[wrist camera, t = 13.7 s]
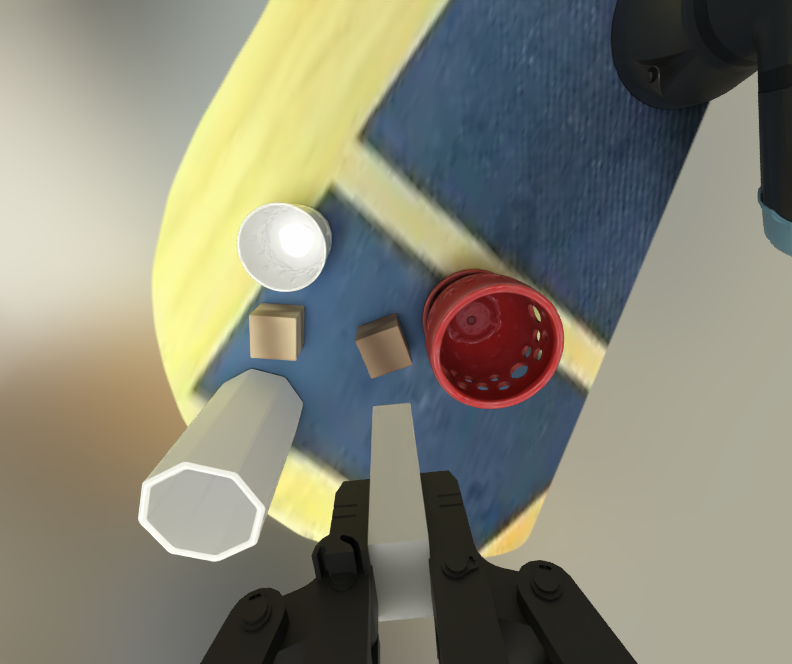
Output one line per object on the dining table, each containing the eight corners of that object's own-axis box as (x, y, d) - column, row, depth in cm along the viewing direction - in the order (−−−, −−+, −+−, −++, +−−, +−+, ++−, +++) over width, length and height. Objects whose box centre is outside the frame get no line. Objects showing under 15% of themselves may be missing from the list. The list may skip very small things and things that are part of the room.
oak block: (304, 305, 48) (296, 318, 43) (304, 344, 49) (296, 360, 45) (262, 302, 47) (249, 314, 43) (263, 341, 49) (250, 357, 44)
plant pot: (440, 377, 52) (456, 429, 40) (402, 285, 47) (409, 315, 36) (536, 340, 50) (581, 384, 39) (507, 243, 46) (548, 260, 35)
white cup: (347, 260, 46) (338, 278, 37) (282, 279, 46) (257, 301, 37) (324, 190, 43) (308, 191, 34) (256, 211, 44) (222, 217, 34)
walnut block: (396, 312, 48) (397, 326, 44) (409, 348, 50) (412, 364, 45) (357, 326, 49) (355, 340, 44) (372, 361, 51) (371, 378, 46)
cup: (295, 363, 50) (250, 457, 33) (310, 438, 54) (276, 557, 37) (207, 372, 50) (115, 470, 33) (228, 446, 54) (156, 569, 37)
